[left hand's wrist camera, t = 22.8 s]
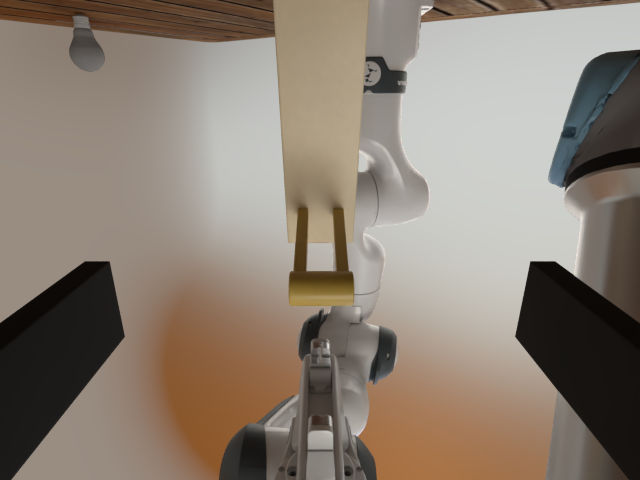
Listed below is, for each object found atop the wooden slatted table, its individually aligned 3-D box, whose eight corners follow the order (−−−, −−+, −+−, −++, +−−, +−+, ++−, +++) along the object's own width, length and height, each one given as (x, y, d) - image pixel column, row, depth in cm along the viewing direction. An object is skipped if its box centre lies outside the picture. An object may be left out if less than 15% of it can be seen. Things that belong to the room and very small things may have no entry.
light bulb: (90, 11, 73) (101, 71, 77) (102, 17, 79) (111, 72, 82) (55, 11, 72) (67, 70, 76) (69, 16, 78) (80, 72, 81)
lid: (352, 236, 29) (362, 334, 22) (288, 236, 28) (279, 334, 22) (368, -12, 19) (396, 26, 12) (273, -13, 19) (249, 25, 12)
